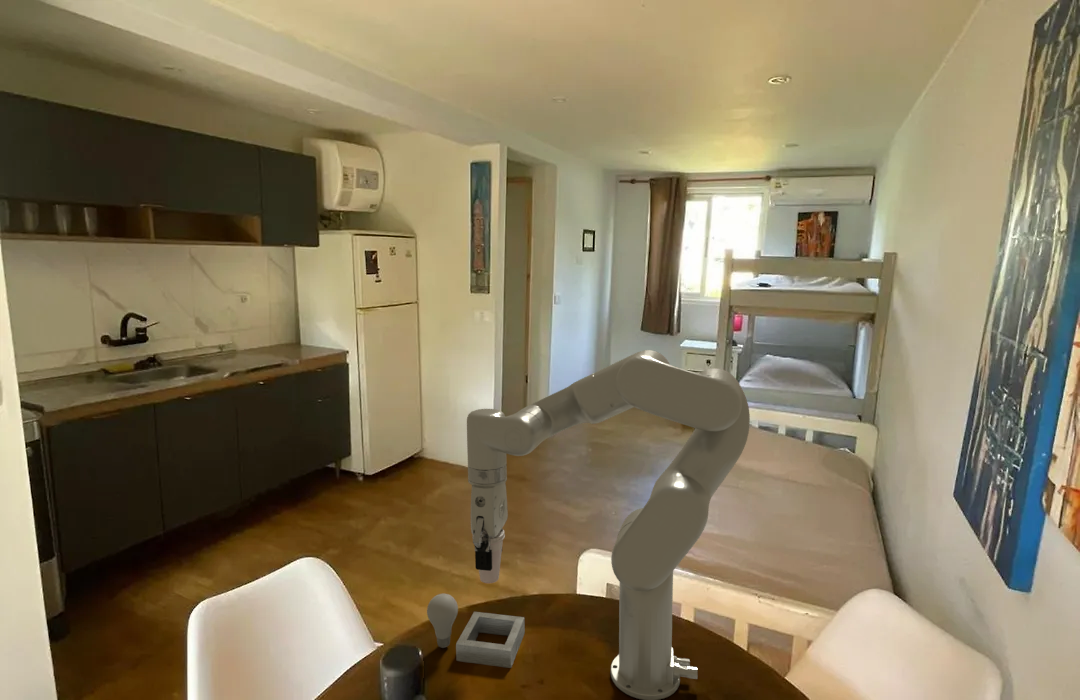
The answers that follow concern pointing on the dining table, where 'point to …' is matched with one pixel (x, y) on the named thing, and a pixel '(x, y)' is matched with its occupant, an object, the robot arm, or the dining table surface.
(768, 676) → the dining table surface
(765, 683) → the dining table surface
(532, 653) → the dining table surface
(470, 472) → the robot arm
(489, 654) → the socket block
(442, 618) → the lightbulb
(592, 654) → the dining table surface
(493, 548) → the smoothie
